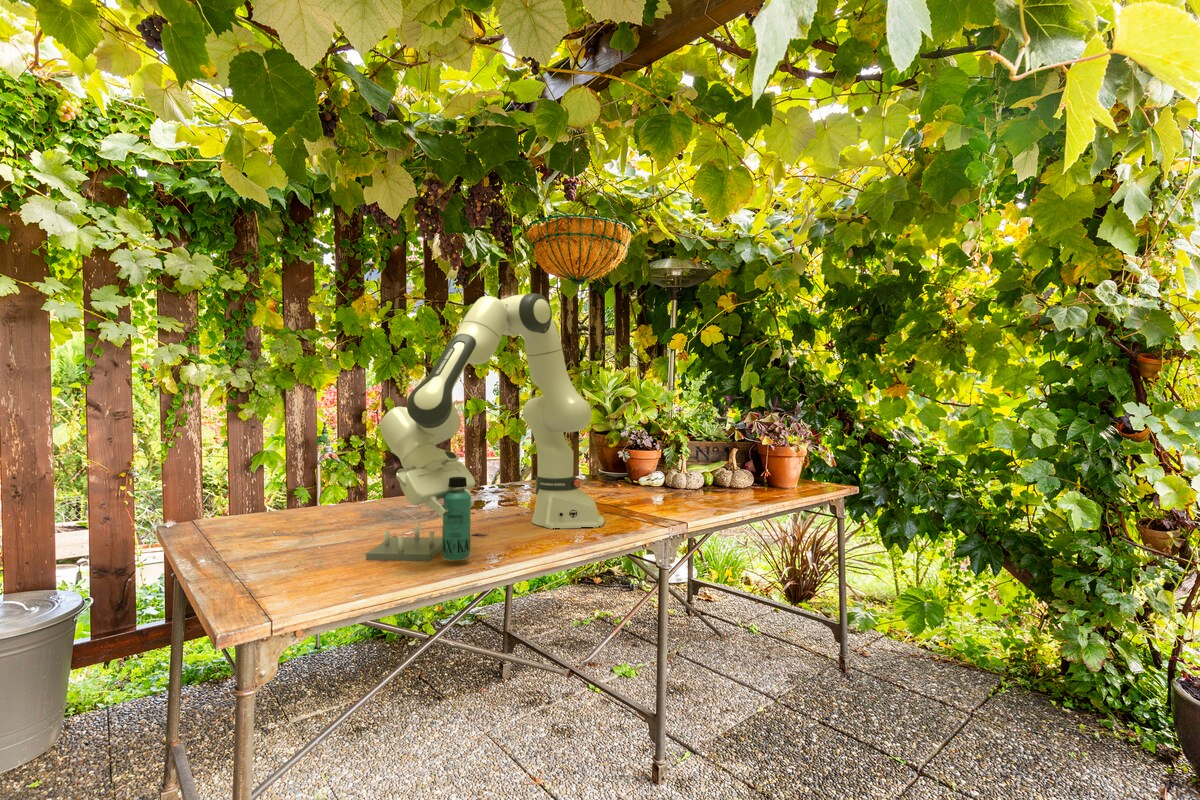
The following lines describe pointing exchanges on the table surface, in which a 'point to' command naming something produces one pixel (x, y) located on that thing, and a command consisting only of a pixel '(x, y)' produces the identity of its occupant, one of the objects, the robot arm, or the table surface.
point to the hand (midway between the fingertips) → (458, 510)
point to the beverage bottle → (456, 522)
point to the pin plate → (406, 547)
